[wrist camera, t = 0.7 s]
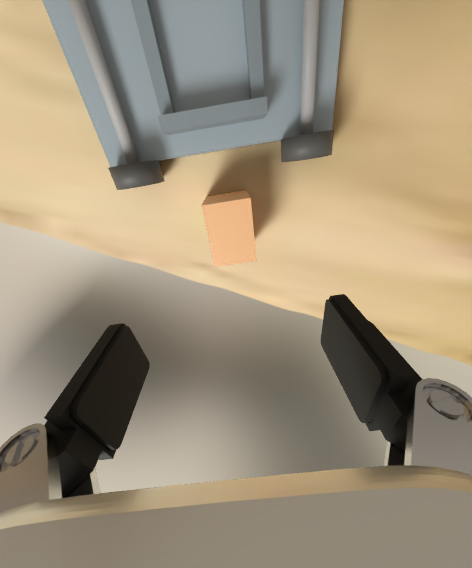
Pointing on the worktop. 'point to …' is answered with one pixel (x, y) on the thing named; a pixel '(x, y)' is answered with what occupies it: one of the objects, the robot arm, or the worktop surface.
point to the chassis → (201, 76)
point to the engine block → (230, 227)
